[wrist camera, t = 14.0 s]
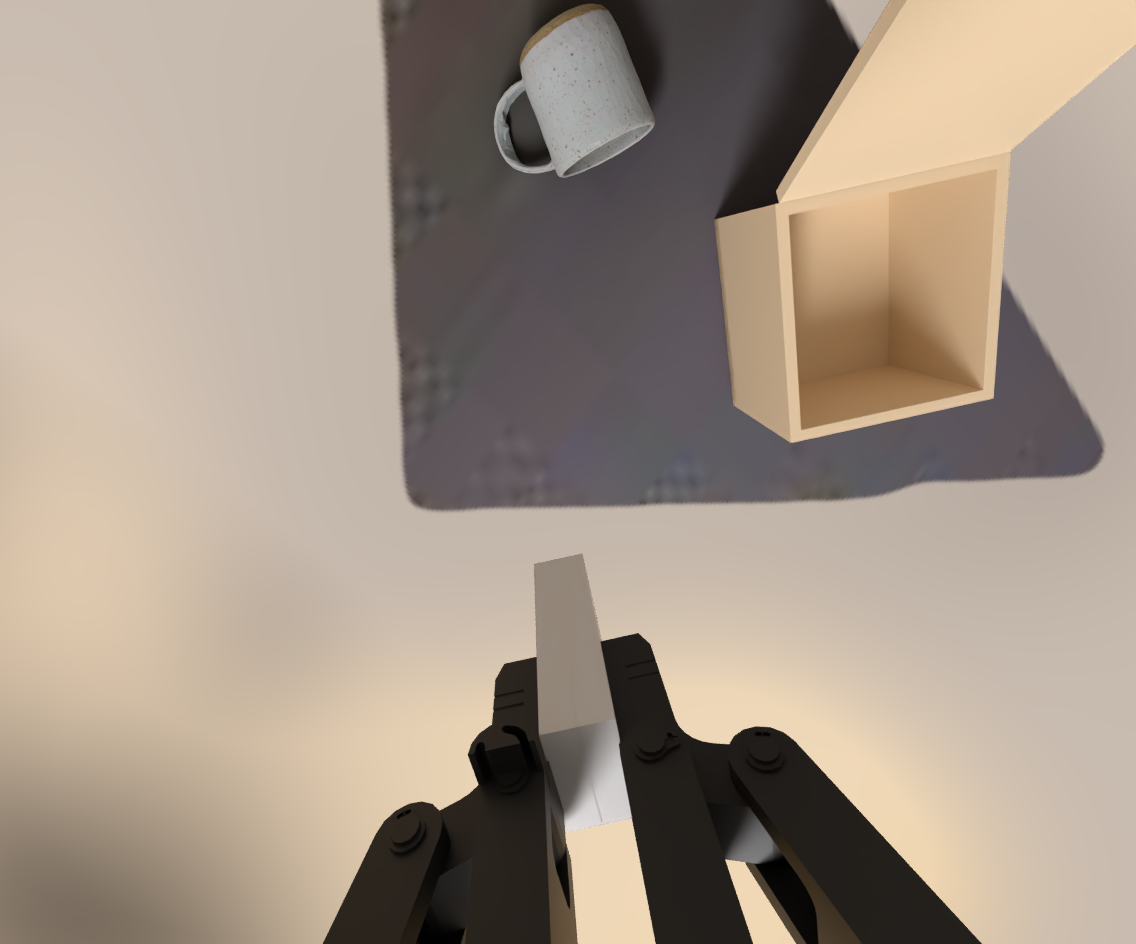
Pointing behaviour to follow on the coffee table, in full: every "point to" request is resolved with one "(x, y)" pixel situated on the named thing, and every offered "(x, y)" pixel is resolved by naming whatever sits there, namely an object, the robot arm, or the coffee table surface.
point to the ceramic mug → (578, 93)
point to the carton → (866, 299)
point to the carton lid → (955, 85)
